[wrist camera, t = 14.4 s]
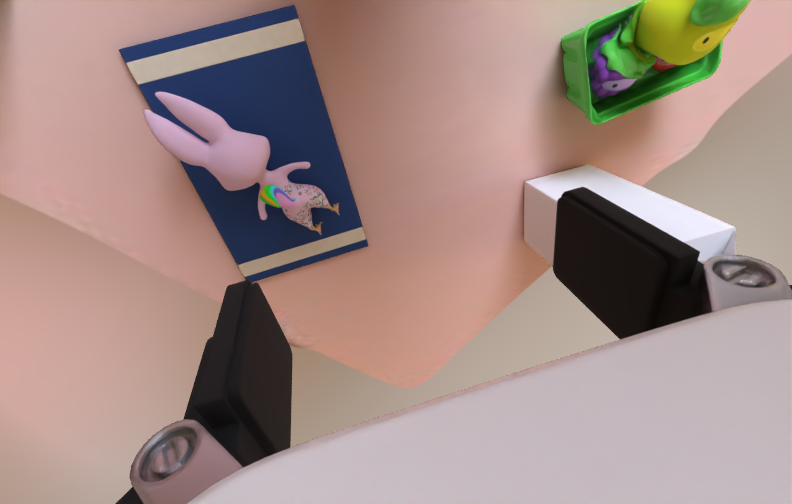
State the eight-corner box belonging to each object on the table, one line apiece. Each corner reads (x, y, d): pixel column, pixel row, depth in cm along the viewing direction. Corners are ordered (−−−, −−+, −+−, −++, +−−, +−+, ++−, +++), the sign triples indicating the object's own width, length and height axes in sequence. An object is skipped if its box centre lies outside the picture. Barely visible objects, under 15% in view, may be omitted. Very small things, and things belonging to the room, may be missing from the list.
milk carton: (522, 240, 40) (670, 373, 24) (523, 180, 37) (698, 289, 21) (581, 224, 41) (763, 342, 25) (588, 163, 37) (806, 256, 21)
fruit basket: (554, 118, 34) (653, 148, 25) (542, 11, 29) (659, -4, 20) (666, 69, 34) (808, 80, 25) (672, -46, 29) (851, -88, 20)
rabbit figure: (345, 183, 34) (179, 58, 24) (363, 215, 29) (166, 76, 20) (303, 231, 35) (130, 130, 26) (313, 269, 31) (108, 163, 21)
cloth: (120, 49, 25) (118, 49, 24) (294, 5, 26) (294, 4, 25) (248, 281, 35) (247, 283, 35) (367, 244, 36) (368, 246, 36)
